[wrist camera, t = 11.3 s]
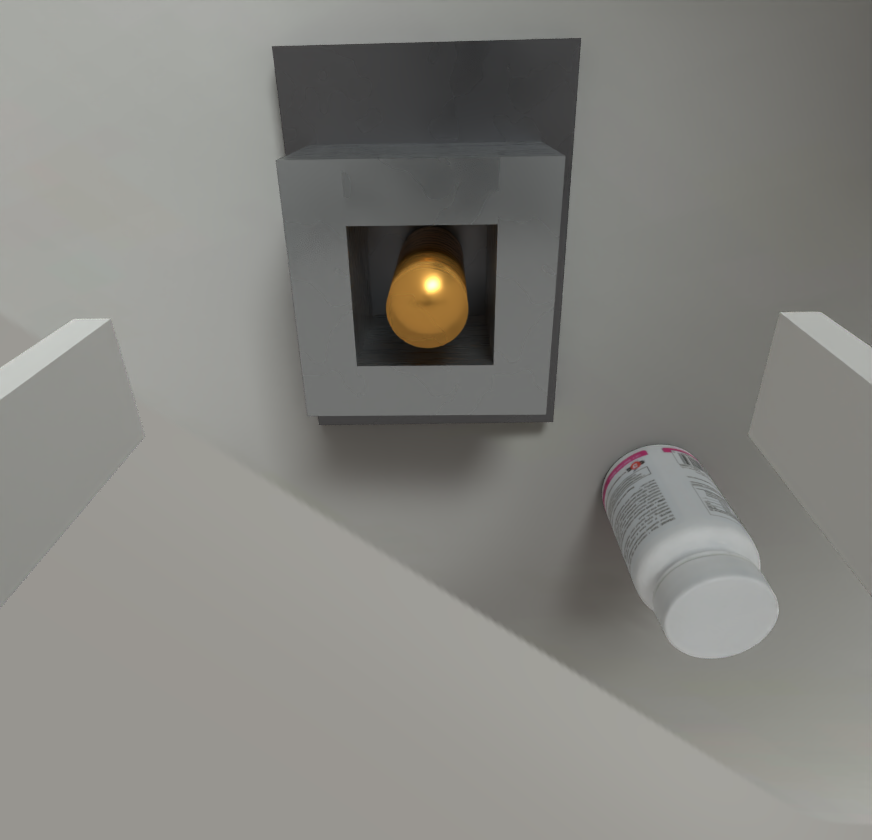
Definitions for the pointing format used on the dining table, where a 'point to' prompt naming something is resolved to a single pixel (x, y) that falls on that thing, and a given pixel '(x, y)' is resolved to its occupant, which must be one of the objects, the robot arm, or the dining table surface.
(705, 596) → the pill bottle
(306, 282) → the grey square socket block
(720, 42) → the dining table surface
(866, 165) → the dining table surface
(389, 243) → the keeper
